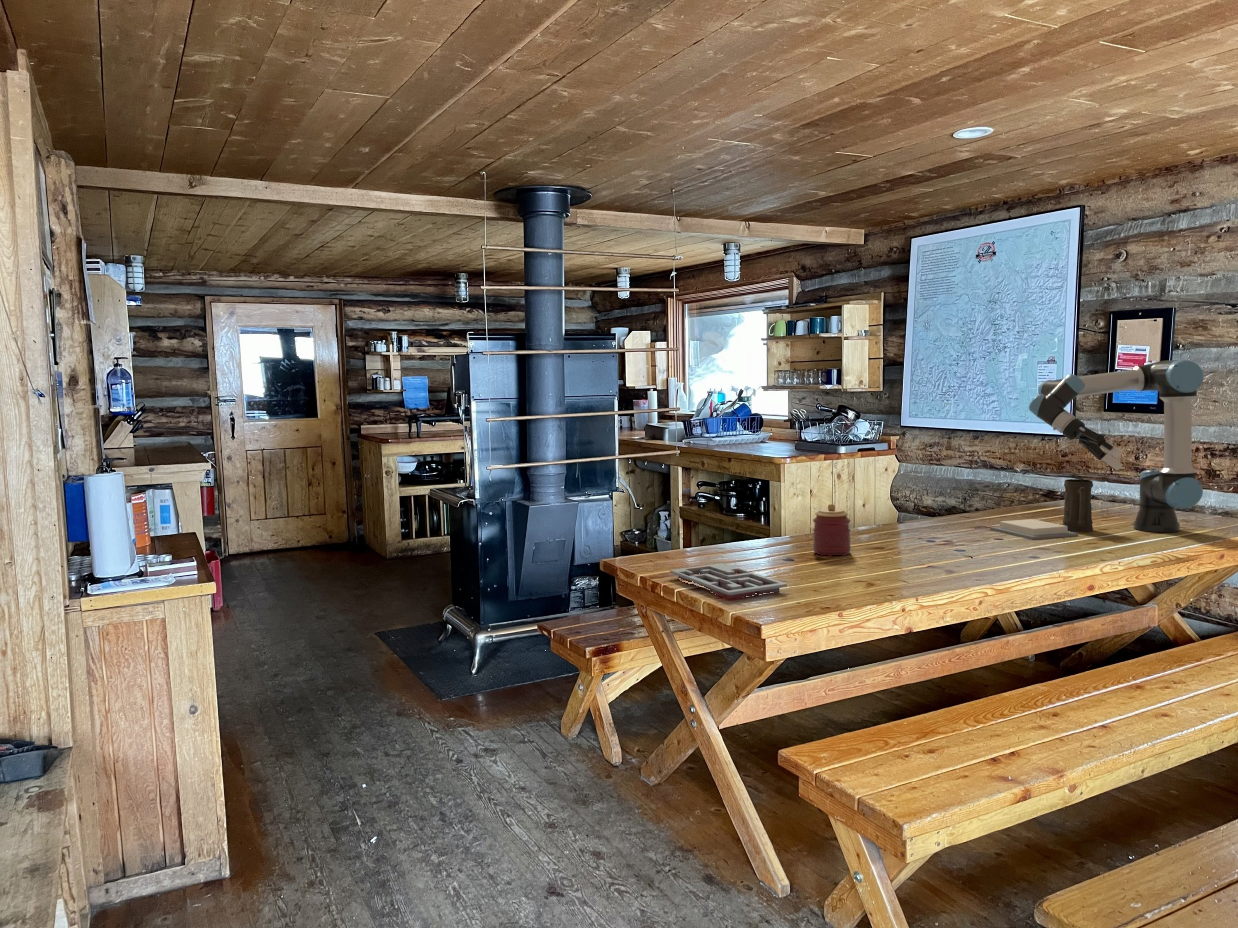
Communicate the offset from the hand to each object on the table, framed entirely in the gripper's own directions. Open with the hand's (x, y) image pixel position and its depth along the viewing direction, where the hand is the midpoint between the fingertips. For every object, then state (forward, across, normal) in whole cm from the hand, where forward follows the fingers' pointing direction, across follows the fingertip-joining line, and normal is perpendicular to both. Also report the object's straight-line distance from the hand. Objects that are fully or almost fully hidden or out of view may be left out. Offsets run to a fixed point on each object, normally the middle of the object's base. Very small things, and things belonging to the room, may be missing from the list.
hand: (1120, 461), depth 310 cm
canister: (-38, +34, -92) cm, 105 cm away
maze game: (-34, +90, -120) cm, 154 cm away
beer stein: (0, -36, -22) cm, 42 cm away
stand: (-10, -27, -34) cm, 45 cm away
